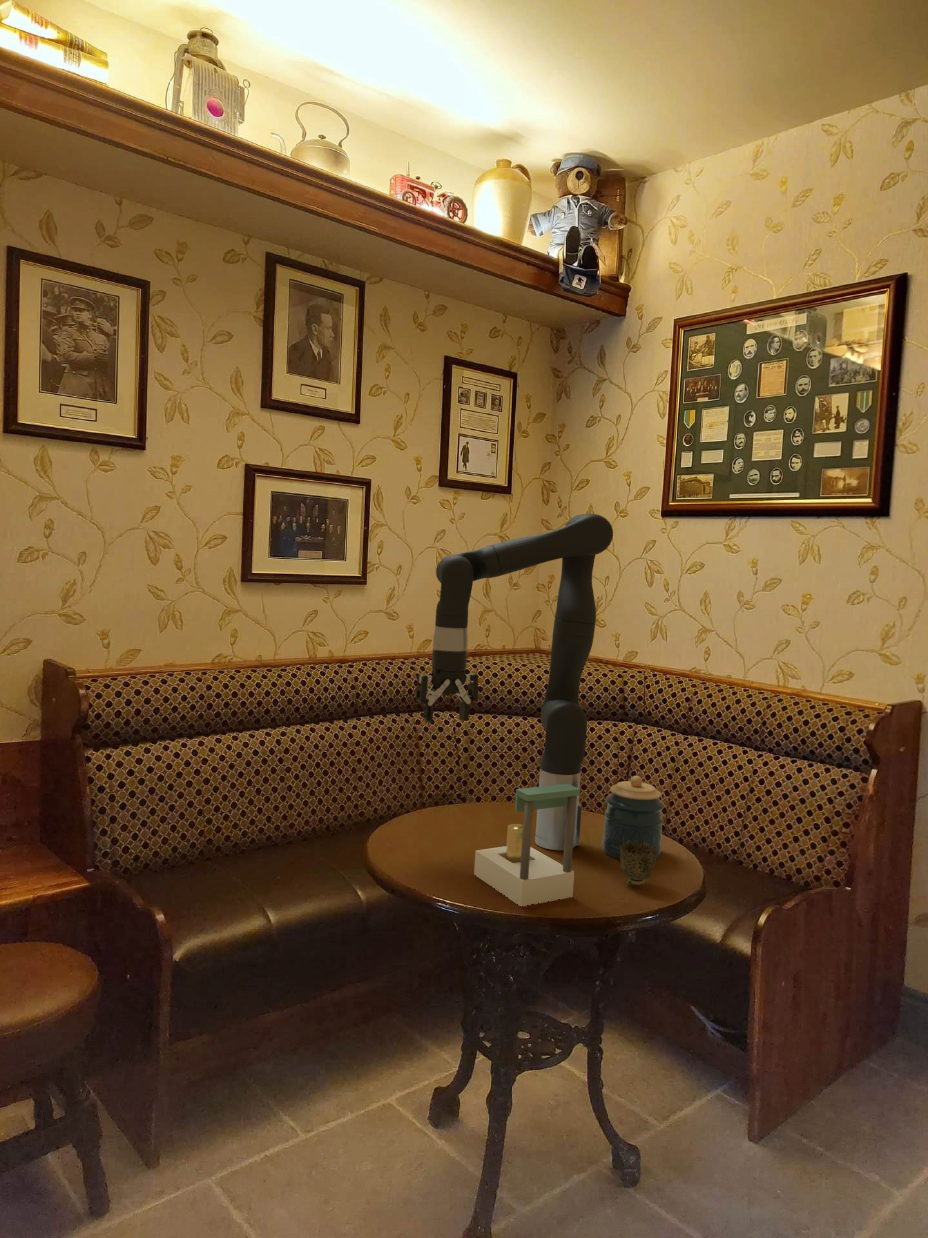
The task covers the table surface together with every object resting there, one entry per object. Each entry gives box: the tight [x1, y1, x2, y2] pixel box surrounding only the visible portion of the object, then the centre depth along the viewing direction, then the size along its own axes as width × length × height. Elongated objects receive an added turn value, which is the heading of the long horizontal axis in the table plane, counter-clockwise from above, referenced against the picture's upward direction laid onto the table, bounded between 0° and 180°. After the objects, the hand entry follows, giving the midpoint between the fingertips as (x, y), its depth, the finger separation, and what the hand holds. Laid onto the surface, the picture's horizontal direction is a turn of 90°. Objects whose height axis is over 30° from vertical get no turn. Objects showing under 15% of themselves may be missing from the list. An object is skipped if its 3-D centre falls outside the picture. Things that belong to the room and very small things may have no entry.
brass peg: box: [505, 823, 523, 863], centre depth 168 cm, size 4×4×10 cm
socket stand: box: [473, 784, 581, 908], centre depth 166 cm, size 12×17×21 cm
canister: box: [601, 775, 666, 861], centre depth 188 cm, size 13×13×18 cm
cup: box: [619, 841, 657, 888], centre depth 170 cm, size 8×7×8 cm
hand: (445, 721), depth 184 cm, fingers open, 8 cm apart
